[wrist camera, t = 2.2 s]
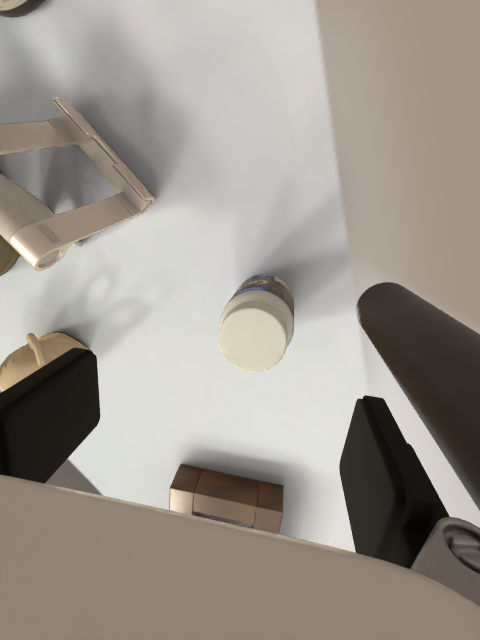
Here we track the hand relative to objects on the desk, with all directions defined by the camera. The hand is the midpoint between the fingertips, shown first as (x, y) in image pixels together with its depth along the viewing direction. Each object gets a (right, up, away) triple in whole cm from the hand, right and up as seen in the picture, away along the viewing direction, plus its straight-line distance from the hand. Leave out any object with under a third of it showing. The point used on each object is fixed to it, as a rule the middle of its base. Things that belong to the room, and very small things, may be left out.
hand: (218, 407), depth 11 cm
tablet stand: (-11, +13, +14) cm, 22 cm away
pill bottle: (+3, +5, +15) cm, 16 cm away
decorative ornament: (-17, 0, +19) cm, 26 cm away
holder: (-1, -18, +22) cm, 29 cm away
